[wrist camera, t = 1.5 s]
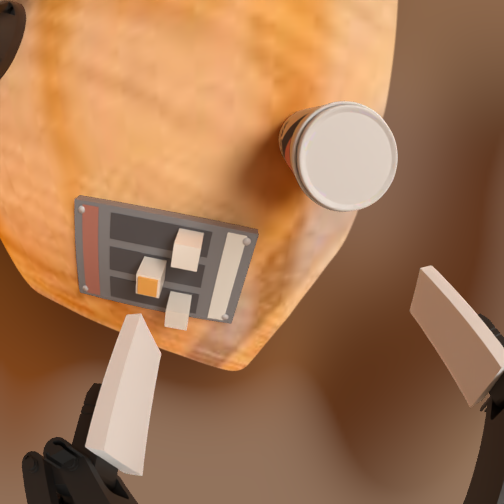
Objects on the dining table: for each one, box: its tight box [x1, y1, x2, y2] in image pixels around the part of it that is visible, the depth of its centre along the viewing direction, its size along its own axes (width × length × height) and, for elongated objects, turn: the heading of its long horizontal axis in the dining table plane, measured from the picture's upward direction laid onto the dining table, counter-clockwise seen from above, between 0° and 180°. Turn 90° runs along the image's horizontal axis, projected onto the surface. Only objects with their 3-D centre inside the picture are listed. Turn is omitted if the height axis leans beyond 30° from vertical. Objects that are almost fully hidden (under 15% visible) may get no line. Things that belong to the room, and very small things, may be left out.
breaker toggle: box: [136, 256, 167, 298], centre depth 33 cm, size 3×3×4 cm
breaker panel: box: [75, 195, 259, 330], centre depth 34 cm, size 24×15×6 cm, turn 75°
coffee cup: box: [279, 101, 398, 212], centre depth 25 cm, size 9×9×12 cm
